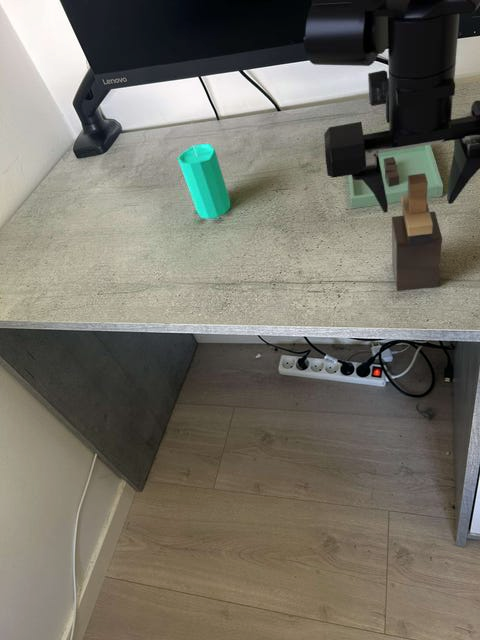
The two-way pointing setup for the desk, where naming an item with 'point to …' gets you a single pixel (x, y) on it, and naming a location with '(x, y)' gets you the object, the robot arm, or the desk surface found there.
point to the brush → (417, 210)
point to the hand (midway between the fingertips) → (416, 206)
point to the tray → (400, 177)
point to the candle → (205, 180)
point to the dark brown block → (415, 257)
